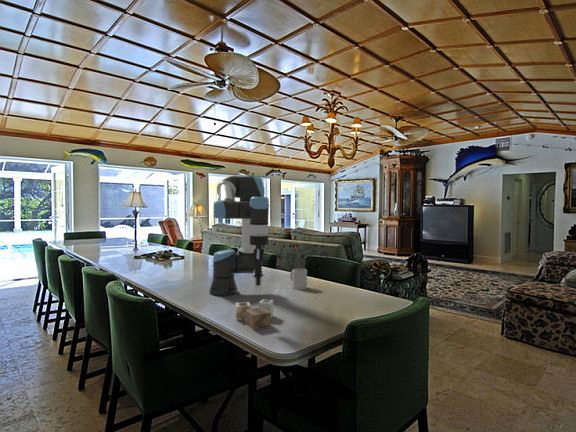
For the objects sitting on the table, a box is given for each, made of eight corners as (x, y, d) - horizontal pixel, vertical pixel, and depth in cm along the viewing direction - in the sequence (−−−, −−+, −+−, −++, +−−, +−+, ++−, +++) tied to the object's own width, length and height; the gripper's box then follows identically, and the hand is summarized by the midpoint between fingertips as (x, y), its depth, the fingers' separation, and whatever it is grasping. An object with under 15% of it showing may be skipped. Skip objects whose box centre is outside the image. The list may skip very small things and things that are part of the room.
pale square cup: (258, 318, 148) (258, 302, 148) (262, 315, 153) (262, 299, 152) (269, 319, 147) (270, 303, 146) (273, 316, 152) (273, 299, 151)
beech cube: (236, 320, 145) (236, 306, 145) (235, 316, 151) (235, 302, 151) (250, 319, 146) (250, 305, 146) (249, 315, 152) (249, 301, 152)
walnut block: (252, 330, 134) (252, 315, 134) (244, 324, 141) (245, 309, 141) (270, 327, 138) (271, 312, 138) (262, 321, 145) (262, 307, 145)
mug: (309, 288, 203) (310, 269, 203) (299, 290, 197) (299, 271, 197) (295, 284, 212) (295, 267, 211) (285, 286, 206) (285, 268, 206)
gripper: (267, 236, 132) (266, 297, 133) (268, 233, 145) (267, 288, 146) (248, 236, 132) (247, 297, 133) (251, 233, 145) (250, 288, 146)
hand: (258, 292), depth 139 cm, fingers closed
